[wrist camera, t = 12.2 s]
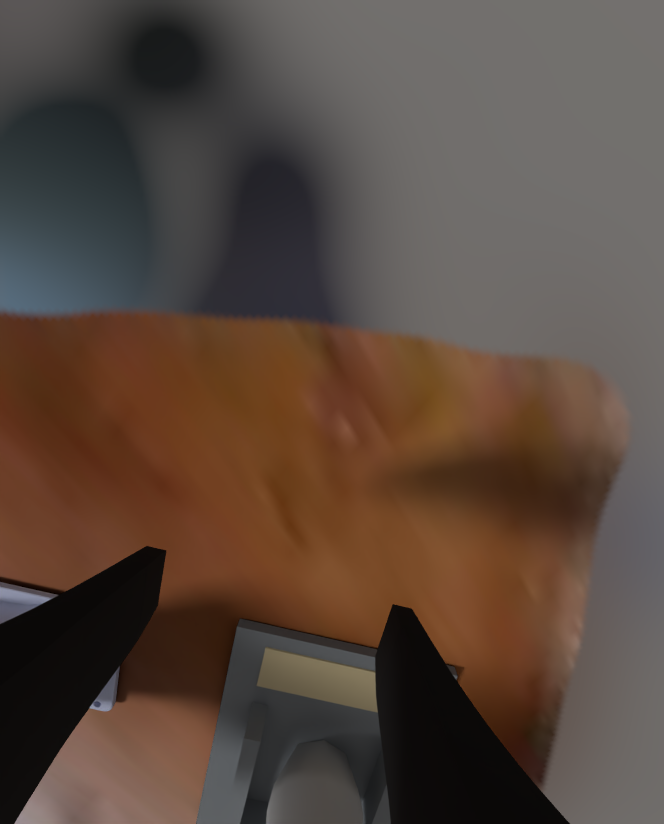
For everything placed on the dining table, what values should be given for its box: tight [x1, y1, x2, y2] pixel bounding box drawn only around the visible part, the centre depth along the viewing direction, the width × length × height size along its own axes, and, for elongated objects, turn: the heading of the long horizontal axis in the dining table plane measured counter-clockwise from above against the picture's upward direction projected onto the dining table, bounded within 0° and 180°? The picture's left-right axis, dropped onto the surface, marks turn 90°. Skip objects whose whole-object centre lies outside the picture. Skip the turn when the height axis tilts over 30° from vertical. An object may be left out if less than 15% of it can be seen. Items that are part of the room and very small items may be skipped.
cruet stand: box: [196, 619, 458, 824], centre depth 22 cm, size 14×18×3 cm
